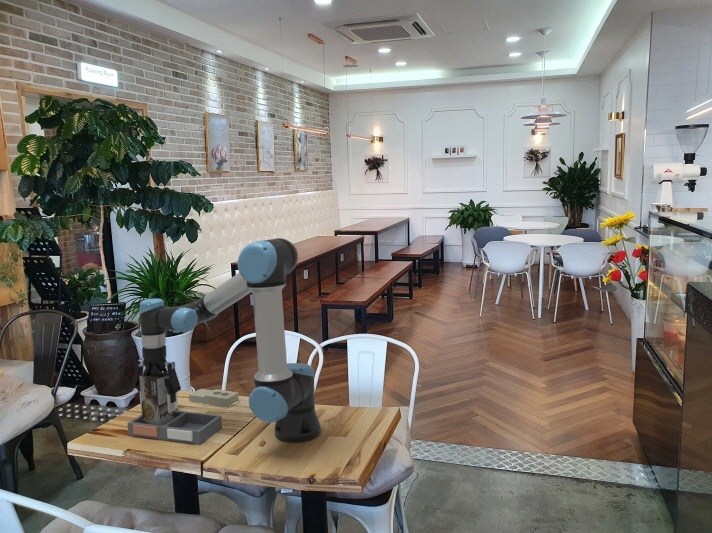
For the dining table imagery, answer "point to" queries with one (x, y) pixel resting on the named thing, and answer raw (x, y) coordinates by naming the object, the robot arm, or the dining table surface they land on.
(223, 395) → the electrical outlet
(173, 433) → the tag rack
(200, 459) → the dining table surface
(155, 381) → the coffee box
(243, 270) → the robot arm
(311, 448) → the dining table surface
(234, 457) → the dining table surface
